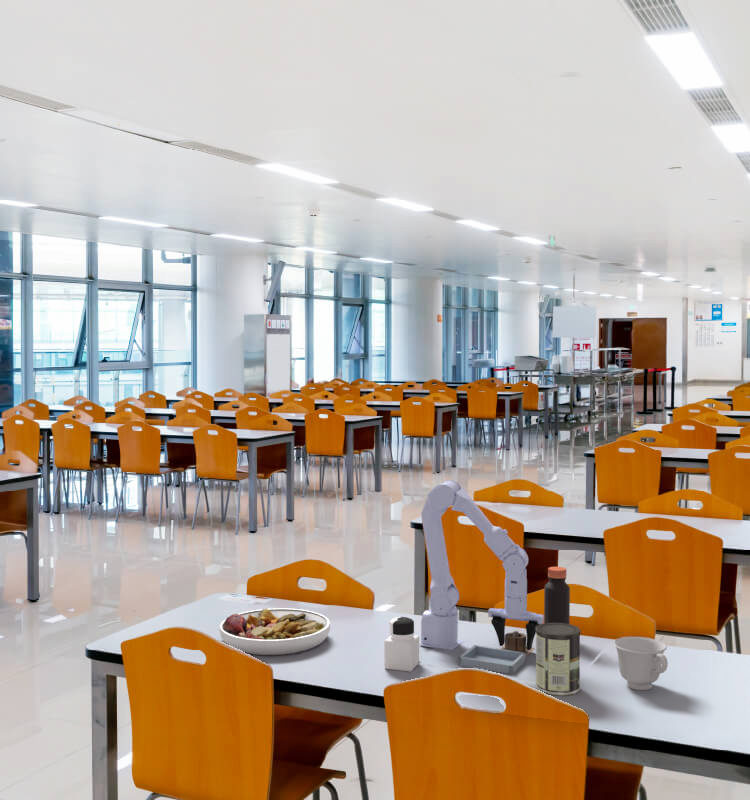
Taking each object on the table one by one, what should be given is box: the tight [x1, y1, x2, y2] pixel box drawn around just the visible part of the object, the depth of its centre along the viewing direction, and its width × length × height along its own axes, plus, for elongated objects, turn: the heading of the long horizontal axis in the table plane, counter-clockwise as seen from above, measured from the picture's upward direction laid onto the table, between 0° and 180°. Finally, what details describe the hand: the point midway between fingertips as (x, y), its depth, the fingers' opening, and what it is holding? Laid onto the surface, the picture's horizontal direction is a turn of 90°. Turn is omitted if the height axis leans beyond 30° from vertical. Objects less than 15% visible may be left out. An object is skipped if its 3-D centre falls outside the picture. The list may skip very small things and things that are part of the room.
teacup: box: [613, 636, 668, 691], centre depth 213 cm, size 12×15×10 cm
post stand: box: [500, 630, 536, 657], centre depth 239 cm, size 8×8×6 cm
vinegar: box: [543, 566, 571, 624], centre depth 248 cm, size 7×7×20 cm
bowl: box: [219, 607, 331, 656], centre depth 250 cm, size 30×30×8 cm
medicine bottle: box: [383, 616, 420, 672], centre depth 229 cm, size 7×7×12 cm
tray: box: [458, 644, 527, 675], centre depth 230 cm, size 14×11×2 cm
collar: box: [504, 631, 527, 652], centre depth 239 cm, size 5×5×4 cm
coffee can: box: [535, 622, 581, 696], centre depth 214 cm, size 10×10×14 cm
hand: (515, 646), depth 239 cm, fingers open, 7 cm apart
